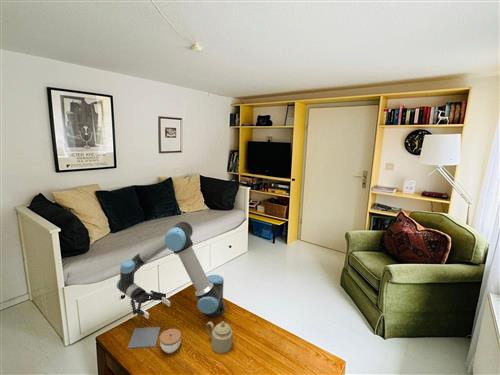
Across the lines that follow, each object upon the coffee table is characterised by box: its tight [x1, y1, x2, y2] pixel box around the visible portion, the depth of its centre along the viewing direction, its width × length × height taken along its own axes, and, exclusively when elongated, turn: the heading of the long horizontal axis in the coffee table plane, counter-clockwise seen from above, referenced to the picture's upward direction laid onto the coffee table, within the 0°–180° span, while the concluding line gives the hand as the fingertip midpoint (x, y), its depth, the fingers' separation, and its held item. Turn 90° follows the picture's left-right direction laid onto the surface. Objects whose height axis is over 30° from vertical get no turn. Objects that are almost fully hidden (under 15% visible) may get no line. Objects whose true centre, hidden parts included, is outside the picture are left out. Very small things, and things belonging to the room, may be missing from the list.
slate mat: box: [127, 326, 161, 350], centre depth 144 cm, size 14×14×1 cm
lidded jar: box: [159, 328, 182, 354], centre depth 137 cm, size 11×11×9 cm
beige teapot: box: [205, 320, 233, 354], centre depth 141 cm, size 15×11×15 cm
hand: (159, 310), depth 140 cm, fingers open, 13 cm apart
